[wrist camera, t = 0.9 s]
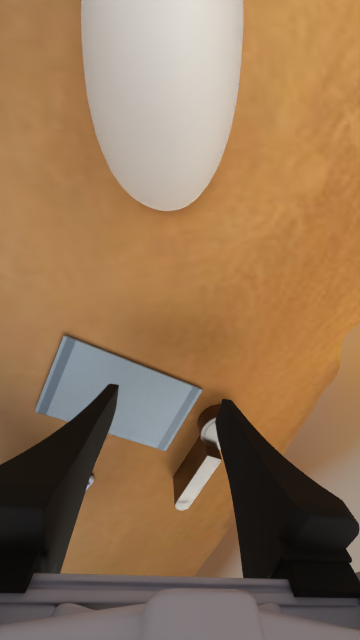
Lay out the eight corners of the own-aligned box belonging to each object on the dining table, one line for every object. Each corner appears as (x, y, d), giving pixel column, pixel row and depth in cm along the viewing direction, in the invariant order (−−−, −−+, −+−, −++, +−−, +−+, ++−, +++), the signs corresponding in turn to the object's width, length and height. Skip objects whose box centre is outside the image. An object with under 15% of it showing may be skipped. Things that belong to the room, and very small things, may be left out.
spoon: (192, 487, 30) (196, 514, 26) (160, 478, 28) (160, 506, 25) (243, 412, 26) (254, 433, 23) (209, 399, 25) (216, 419, 22)
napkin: (165, 449, 27) (166, 451, 27) (35, 409, 23) (34, 411, 23) (202, 388, 25) (202, 390, 24) (65, 334, 21) (63, 335, 21)
